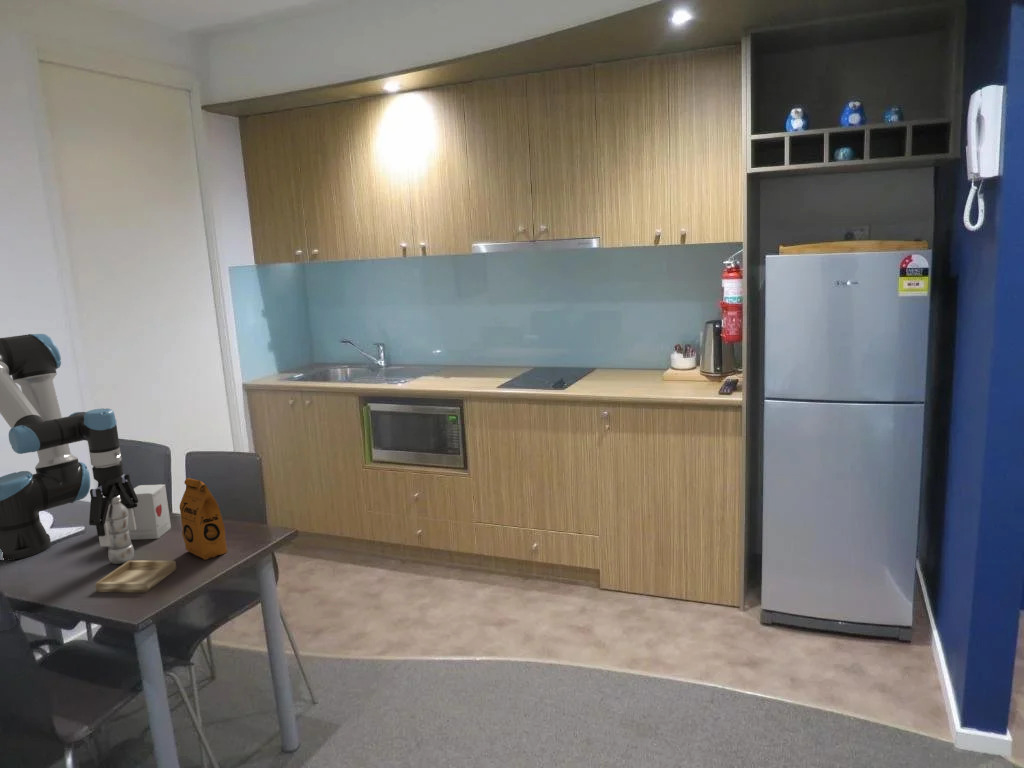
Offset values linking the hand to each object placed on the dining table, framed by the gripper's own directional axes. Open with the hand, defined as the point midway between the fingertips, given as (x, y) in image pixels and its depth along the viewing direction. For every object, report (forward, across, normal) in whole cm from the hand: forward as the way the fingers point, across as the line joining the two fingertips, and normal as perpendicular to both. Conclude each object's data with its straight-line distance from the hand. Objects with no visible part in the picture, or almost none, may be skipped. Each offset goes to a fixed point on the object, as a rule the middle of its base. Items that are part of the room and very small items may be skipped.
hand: (118, 537), depth 208 cm
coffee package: (+8, +7, -22) cm, 24 cm away
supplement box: (+8, +20, +4) cm, 22 cm away
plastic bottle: (+8, 0, 0) cm, 8 cm away
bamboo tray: (+7, -11, -12) cm, 18 cm away
